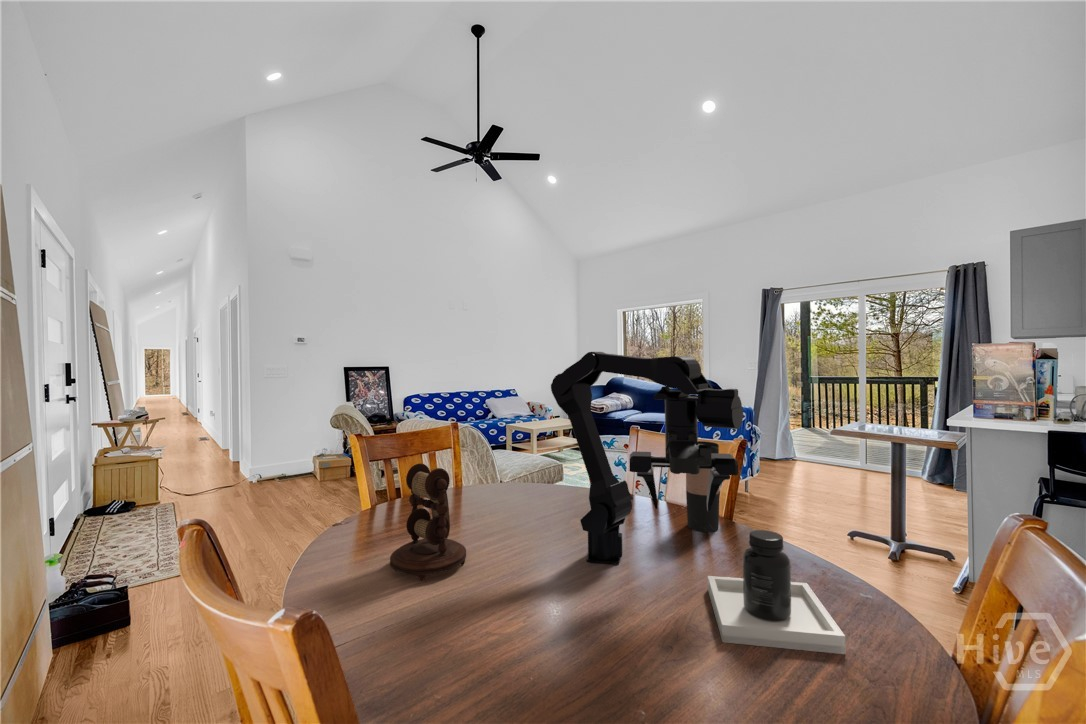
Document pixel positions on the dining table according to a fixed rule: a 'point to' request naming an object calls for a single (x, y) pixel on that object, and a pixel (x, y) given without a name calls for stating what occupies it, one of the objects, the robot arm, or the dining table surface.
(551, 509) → the dining table surface
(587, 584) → the dining table surface
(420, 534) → the thread spool stand
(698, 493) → the travel mug
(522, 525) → the dining table surface
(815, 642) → the tray
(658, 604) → the dining table surface
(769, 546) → the supplement bottle
